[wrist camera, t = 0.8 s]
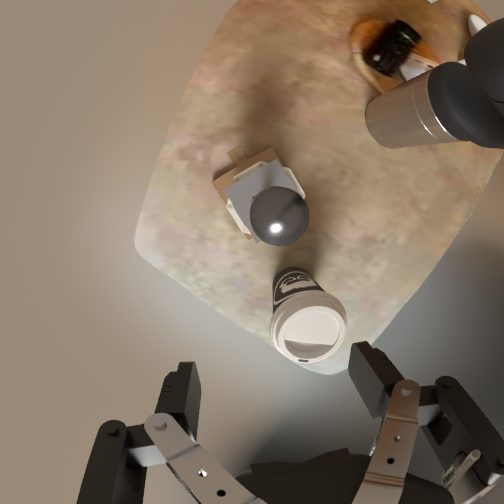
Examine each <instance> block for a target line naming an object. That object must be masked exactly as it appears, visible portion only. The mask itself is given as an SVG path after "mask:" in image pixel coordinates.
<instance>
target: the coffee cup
mask: <svg viewBox="0 0 504 504" xmlns="http://www.w3.org/2000/svg"><path fill="white" fill-rule="evenodd" d="M346 327H347V316H346V312H345V309H344V307H343V305H342V304H341V302H340V301H339V300H338V299H337V298H335V297H334V296H332V295H330V294H328V293H326V292H325V291H324V290H323V289H322V288H321V287H320V286H319V285H318V284H317V282H316V281H315V280H314V279H313V278H312V277H311V276H310V275H309V274H308V273H307V272H306V271H305V270H303V269H301V268H296V267H292V268H287V269H285V270H283V271H281V272H280V273H279V274H278V275H277V276H276V278H275V279H274V282H273V316H272V318H271V321H270V326H269V334H270V338H271V341H272V343H273V345H274V346H275V347H276V349H277V350H278V351H279V352H280V353H281V354H283V355H284V356H286V357H287V358H289V359H291V360H293V361H295V362H299V363H313V362H318V361H321V360H323V359H325V358H327V357H329V356H330V355H332V354H333V353H334V352H335V351H336V350H337V349H338V348H339V346H340V345H341V343H342V341H343V339H344V336H345V332H346Z"/></svg>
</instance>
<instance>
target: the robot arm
mask: <svg viewBox="0 0 504 504" xmlns="http://www.w3.org/2000/svg"><path fill="white" fill-rule="evenodd" d="M464 59H465V62H466V65H464V64H461V63H458V62H446V63H443V64H441V65H439V66H437V67H435V68H433V69H430V70H428V71H426V72H424V73H422V74H420V75H418V76H416V77H414V78H412V79H410V80H408V81H406V82H404V83H402V84H400V85H398V86H397V87H395V88H393V89H391V90H389V91H387V92H385V93H383V94H381V95H379V96H378V97H376V98H374V99H373V100H372V101H370V103H369V104H368V106H367V109H366V114H365V116H366V123H367V127H368V129H369V131H370V133H371V135H372V136H373V137H374V139H375V140H376V141H377V142H379V143H380V144H381V145H383V146H385V147H388V148H402V147H411V146H419V145H428V144H438V143H449V142H460V141H471V142H473V143H475V144H477V145H479V146H482V147H487V148H499V149H504V18H502V19H499V20H497V21H494V22H492V23H490V24H488V25H487V26H485V27H483V28H482V29H480V30H479V31H478V32H477V33H476V34H475V35H473V36H472V38H471V39H470V40H469V42H468V44H467V45H466V48H465V51H464ZM348 370H349V375H350V377H351V379H352V381H353V383H354V385H355V386H356V388H357V390H358V392H359V393H360V395H361V397H362V399H363V401H364V403H365V404H366V406H367V408H368V410H369V412H370V414H371V416H372V417H373V418H376V417H379V416H381V418H382V422H381V425H380V427H379V430H378V433H377V436H376V439H375V442H374V444H373V447H372V450H371V452H370V454H369V455H365V454H359V453H349V451H348V448H344V449H340V450H336V451H332V452H327V453H324V454H322V455H319V456H317V457H315V458H312V459H310V460H308V461H305V462H302V463H293V462H268V463H257V464H251V470H249V471H246V472H244V473H241V474H239V475H237V476H235V477H234V478H233V477H232V476H231V475H230V474H229V473H228V472H227V471H226V470H225V469H224V468H223V467H222V466H221V465H220V464H219V463H217V461H216V460H215V459H213V457H212V456H211V455H210V454H209V453H208V452H207V451H206V450H205V449H204V448H203V447H202V446H201V445H199V444H198V445H196V444H195V443H196V437H197V428H198V419H199V409H200V400H201V384H200V380H199V376H198V372H197V368H196V364H195V362H180V363H179V366H178V370H177V372H170V373H169V374H168V375H167V376H166V377H165V379H164V382H163V387H162V389H161V393H160V396H159V399H158V403H157V406H156V410H155V413H154V414H153V415H151V416H150V417H148V418H147V419H146V421H145V423H144V424H141V425H136V426H128V427H126V425H125V424H124V423H123V422H121V421H118V420H110V421H107V422H105V423H103V424H102V425H101V427H100V428H99V431H98V434H97V437H96V439H95V442H94V445H93V448H92V451H91V455H90V458H89V461H88V464H87V467H86V471H85V474H84V478H83V481H82V485H81V488H80V492H79V496H78V500H77V504H143V496H144V488H145V480H146V473H147V466H151V465H157V464H162V463H165V464H166V465H167V466H168V468H169V469H170V470H171V471H172V473H173V474H174V475H175V477H176V478H177V479H178V481H179V482H180V483H181V484H182V485H183V487H184V488H185V489H186V490H187V492H188V493H189V494H190V495H191V497H192V498H193V499H194V500H195V501H196V502H197V504H472V503H474V502H475V501H477V500H478V499H479V498H481V497H482V496H483V495H484V494H485V493H486V492H488V491H489V490H490V489H491V488H492V487H493V486H495V485H496V484H497V483H498V482H499V481H500V480H501V479H502V478H503V477H504V440H503V439H502V437H501V436H500V435H499V433H498V432H497V431H496V429H495V428H494V426H493V425H492V424H491V422H490V421H489V420H488V418H487V417H486V416H485V415H484V413H483V412H482V411H481V410H480V408H479V407H478V406H477V404H476V403H475V402H474V401H473V399H472V398H471V397H470V396H469V395H468V393H467V392H466V391H465V390H464V388H463V387H462V386H461V385H460V384H459V382H458V381H457V380H456V379H455V378H452V377H450V376H442V377H439V378H438V379H437V380H436V382H435V384H434V385H431V386H422V387H421V386H419V384H418V383H416V382H415V381H412V380H405V379H404V378H403V376H402V375H401V374H400V372H399V371H398V370H397V368H396V367H395V366H394V365H393V364H392V362H391V361H390V360H389V359H388V357H387V356H386V355H385V353H384V352H382V351H381V350H379V349H377V348H374V349H373V348H372V347H371V346H370V344H369V343H368V342H367V341H362V342H358V343H353V344H352V346H351V352H350V359H349V366H348ZM446 415H447V417H448V418H449V420H450V421H451V423H450V421H449V420H448V418H447V417H446ZM418 426H420V427H421V428H422V430H423V432H424V434H425V436H426V437H427V439H428V441H429V443H430V444H431V446H432V448H433V450H434V452H435V454H436V455H437V457H438V459H439V461H440V463H441V465H442V466H443V468H444V471H445V472H444V473H443V476H442V481H443V484H442V486H441V485H439V484H436V483H433V482H430V481H428V480H425V479H422V478H420V477H417V476H415V475H412V474H410V473H408V472H407V469H408V465H409V461H410V458H411V454H412V450H413V445H414V442H415V437H416V432H417V427H418Z"/></svg>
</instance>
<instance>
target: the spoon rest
mask: <svg viewBox="0 0 504 504" xmlns="http://www.w3.org/2000/svg"><path fill="white" fill-rule="evenodd" d="M468 25H469V31H470V35H471V37H472V36H473V35H475V34H476V33H477V32H478V31H479V30H480V29H482V28H483V27H485V26H487V25H486V23H485V22H484V21H483V20H482V19H480V18H479V17H478V16H476V15H474V14H471V15H470V16H469V19H468ZM458 63H461V64H464V65H466V62H465V59H462V60H459V61H458Z"/></svg>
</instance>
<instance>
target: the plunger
mask: <svg viewBox="0 0 504 504" xmlns="http://www.w3.org/2000/svg"><path fill="white" fill-rule="evenodd" d="M252 198H253V200H252V202H251V205H250V222H251V226H252V229H253V230H254V232H255V234H256V235H257V236H258V237H259V238H260V239H261V240H262V241H264V242H266V243H268V244H271V245H276V246H283V245H288V244H291V243H293V242H295V241H296V240H298V239H299V238H300V237H301V236H302V235H303V233H304V232H305V230H306V228H307V225H308V222H309V210H308V207H307V204H306V202H305V200H304V199H303V198H302V196H301V195H300V194H298V193H297V192H296V191H294V190H292V189H289V188H286V187H282V186H270V187H266V188H264V189H262V190H261V191H259V192H258V193H257V194H256V195H255V196H254V197H252Z"/></svg>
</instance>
